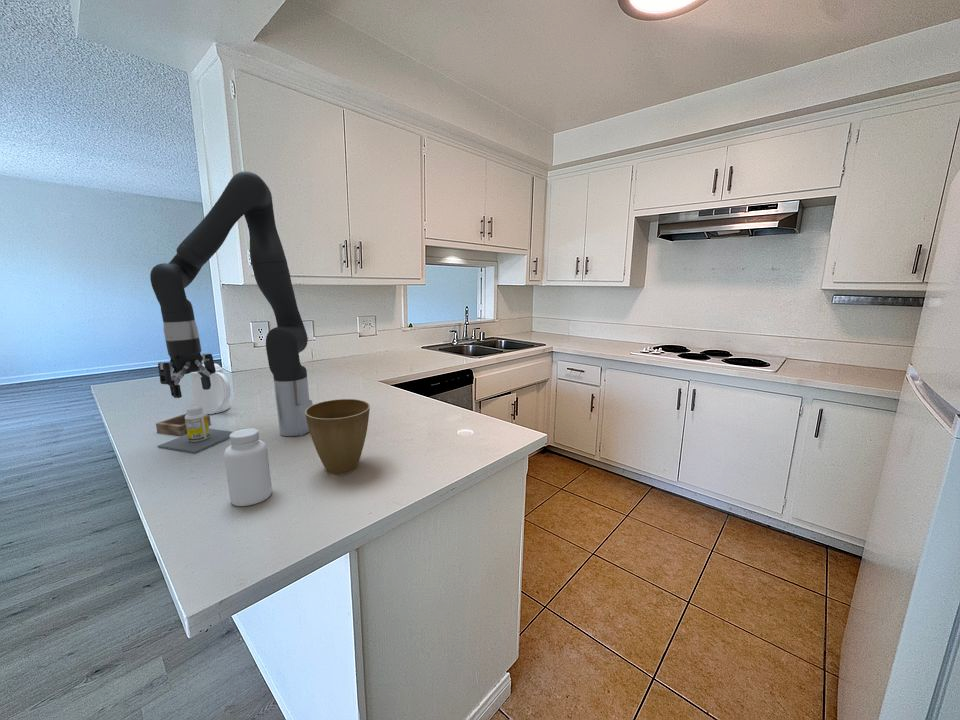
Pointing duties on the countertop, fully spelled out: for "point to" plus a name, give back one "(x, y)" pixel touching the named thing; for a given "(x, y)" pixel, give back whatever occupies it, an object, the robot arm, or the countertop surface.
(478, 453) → the countertop surface
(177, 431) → the collar holder
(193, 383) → the coffeepot
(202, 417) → the supplement bottle
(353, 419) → the plant pot
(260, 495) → the pill bottle
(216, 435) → the rubber mat
